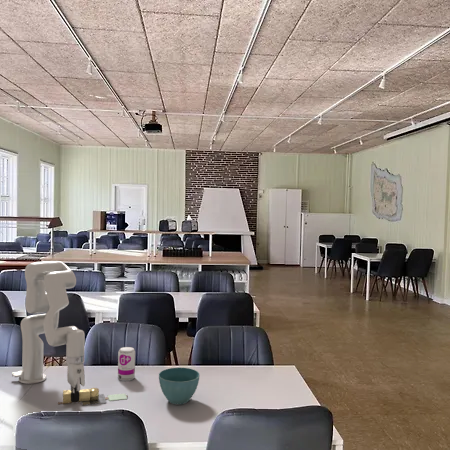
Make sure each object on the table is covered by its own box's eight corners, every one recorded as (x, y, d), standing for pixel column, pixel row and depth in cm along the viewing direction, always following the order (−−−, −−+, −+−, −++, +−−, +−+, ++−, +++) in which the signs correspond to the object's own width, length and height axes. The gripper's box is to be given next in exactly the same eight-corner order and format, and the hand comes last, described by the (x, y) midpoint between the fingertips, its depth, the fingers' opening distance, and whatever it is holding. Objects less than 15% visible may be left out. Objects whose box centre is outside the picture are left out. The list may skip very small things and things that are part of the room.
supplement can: (130, 382, 242) (131, 352, 242) (115, 380, 244) (115, 350, 243) (137, 376, 250) (137, 347, 250) (121, 374, 252) (122, 345, 251)
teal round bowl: (182, 413, 209) (183, 384, 208) (149, 402, 219) (150, 375, 218) (206, 399, 224) (207, 372, 224) (174, 390, 234) (175, 364, 233)
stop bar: (98, 396, 222) (98, 387, 222) (99, 400, 218) (99, 391, 218) (62, 399, 217) (63, 390, 217) (62, 403, 213) (63, 394, 213)
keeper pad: (109, 401, 219) (109, 400, 219) (107, 395, 224) (107, 395, 224) (127, 399, 221) (127, 398, 221) (125, 394, 227) (125, 393, 227)
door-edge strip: (58, 404, 213) (58, 404, 213) (57, 402, 215) (57, 402, 215) (127, 397, 224) (127, 396, 224) (127, 395, 225) (127, 395, 225)
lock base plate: (82, 405, 213) (82, 405, 213) (81, 396, 222) (81, 396, 222) (106, 403, 216) (106, 402, 216) (103, 394, 226) (103, 393, 226)
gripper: (89, 362, 209) (89, 405, 209) (78, 353, 221) (78, 394, 221) (72, 365, 204) (71, 408, 205) (61, 356, 217) (61, 397, 217)
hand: (75, 401), depth 213 cm, fingers closed
